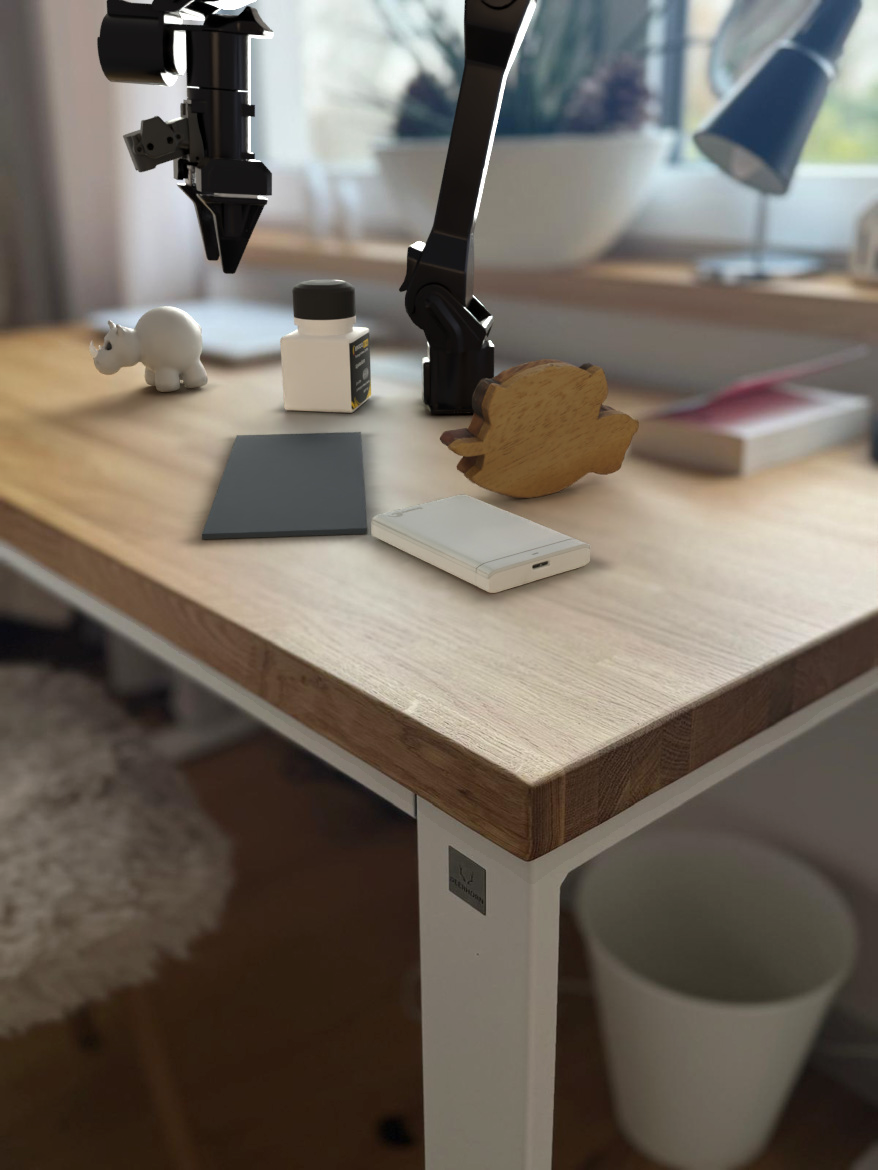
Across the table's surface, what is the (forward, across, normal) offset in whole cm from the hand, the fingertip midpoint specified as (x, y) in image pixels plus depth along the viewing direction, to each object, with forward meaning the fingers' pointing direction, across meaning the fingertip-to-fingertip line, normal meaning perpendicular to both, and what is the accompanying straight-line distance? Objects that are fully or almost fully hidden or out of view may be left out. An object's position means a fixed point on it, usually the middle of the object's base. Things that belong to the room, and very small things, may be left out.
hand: (220, 266), depth 105 cm
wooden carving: (+11, +39, +17) cm, 44 cm away
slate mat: (+12, +30, 0) cm, 32 cm away
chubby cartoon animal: (+14, -9, -6) cm, 18 cm away
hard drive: (+11, +49, +8) cm, 51 cm away
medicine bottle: (+13, +5, +10) cm, 17 cm away
